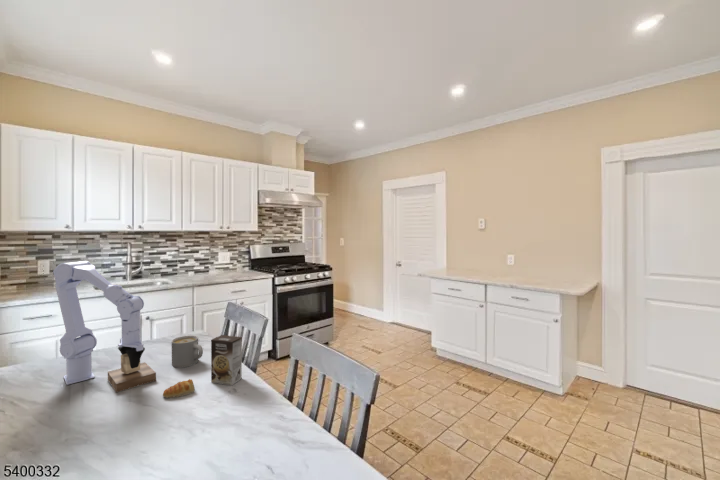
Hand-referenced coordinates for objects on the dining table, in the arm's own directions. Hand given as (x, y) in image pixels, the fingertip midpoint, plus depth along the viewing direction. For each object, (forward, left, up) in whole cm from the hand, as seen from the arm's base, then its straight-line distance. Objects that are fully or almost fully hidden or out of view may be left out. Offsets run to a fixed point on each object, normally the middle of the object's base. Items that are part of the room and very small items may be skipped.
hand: (131, 365), depth 120 cm
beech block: (0, 0, -2) cm, 2 cm away
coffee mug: (-1, +20, -6) cm, 21 cm away
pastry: (+23, +9, -6) cm, 26 cm away
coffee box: (+26, +24, -6) cm, 36 cm away
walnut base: (0, 0, -5) cm, 5 cm away
